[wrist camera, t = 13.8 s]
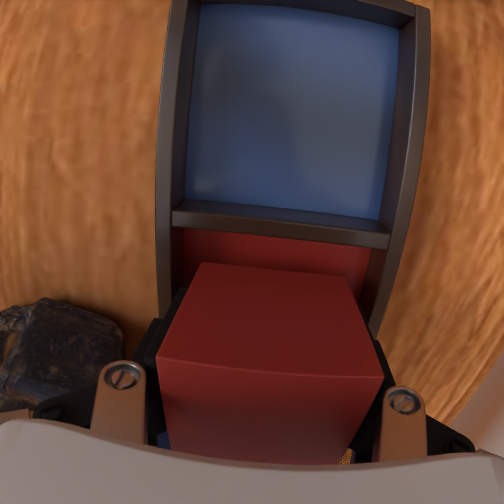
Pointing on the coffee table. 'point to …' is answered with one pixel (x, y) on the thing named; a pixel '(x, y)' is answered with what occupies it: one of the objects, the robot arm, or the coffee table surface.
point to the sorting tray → (291, 140)
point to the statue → (52, 351)
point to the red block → (267, 367)
